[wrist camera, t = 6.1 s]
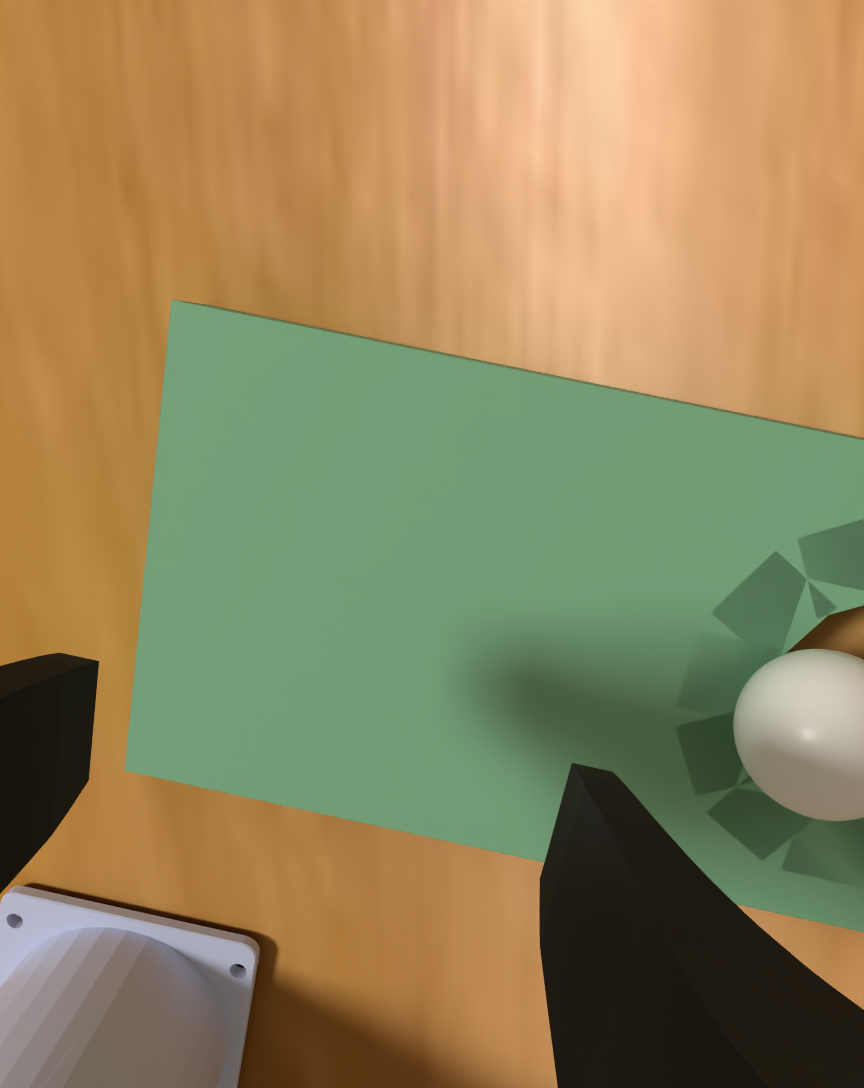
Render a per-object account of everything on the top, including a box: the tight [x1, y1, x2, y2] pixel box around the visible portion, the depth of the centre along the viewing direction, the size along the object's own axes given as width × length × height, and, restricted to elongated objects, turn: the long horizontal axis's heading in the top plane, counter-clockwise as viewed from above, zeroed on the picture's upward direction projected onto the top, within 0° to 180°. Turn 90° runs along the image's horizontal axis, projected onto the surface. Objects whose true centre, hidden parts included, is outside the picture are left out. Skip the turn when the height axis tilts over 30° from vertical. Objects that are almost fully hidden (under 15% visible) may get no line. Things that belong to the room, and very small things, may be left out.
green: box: [125, 300, 864, 932], centre depth 17 cm, size 12×24×7 cm, turn 79°
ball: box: [733, 649, 864, 821], centre depth 17 cm, size 4×4×4 cm
